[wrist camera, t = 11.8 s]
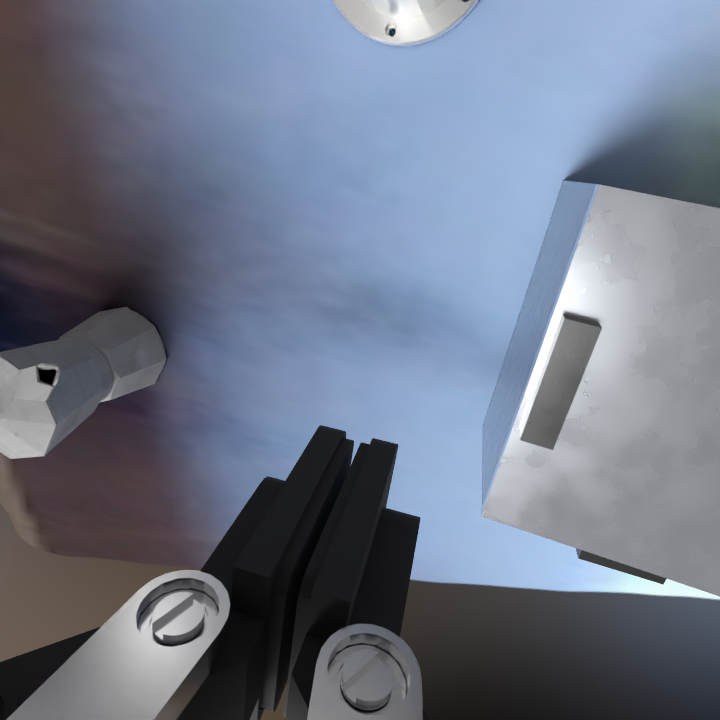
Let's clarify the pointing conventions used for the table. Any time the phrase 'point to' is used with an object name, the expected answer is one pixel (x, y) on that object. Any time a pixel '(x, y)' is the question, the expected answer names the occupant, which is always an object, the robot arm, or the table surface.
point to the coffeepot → (73, 378)
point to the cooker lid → (626, 395)
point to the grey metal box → (530, 333)
